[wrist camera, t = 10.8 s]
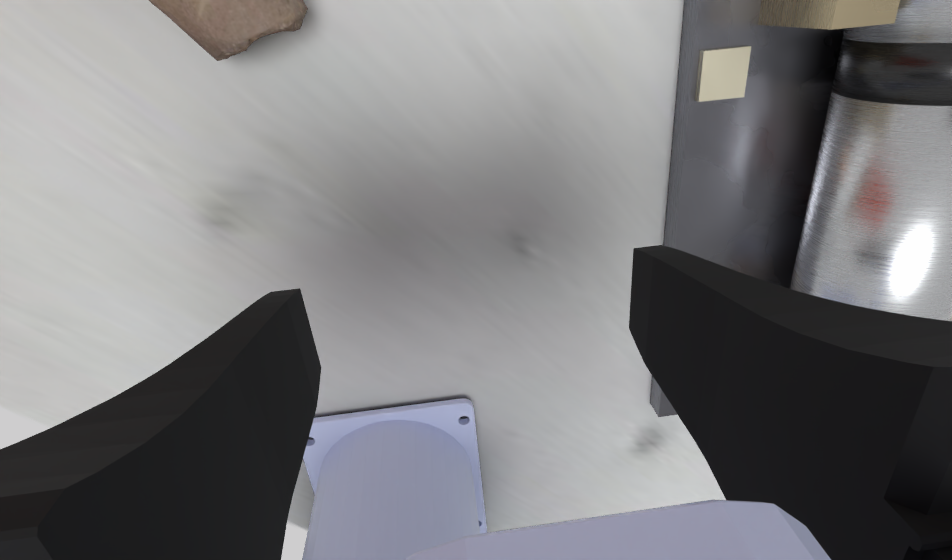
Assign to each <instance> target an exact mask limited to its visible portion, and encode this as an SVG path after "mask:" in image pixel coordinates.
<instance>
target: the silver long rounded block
mask: <svg viewBox="0 0 952 560" xmlns="http://www.w3.org/2000/svg"><path fill="white" fill-rule="evenodd" d="M790 289H792V290H795V291H799V292H802V293H806V294H809V295H813V296H817V297H821V298H825V299H829V300H834V301H838V302H842V303H846V304H850V305H855V306H860V307H865V308H870V309H875V310H881V311H887V312H892V313H898V314H904V315H909V316H916V317H923V318H930V319H937V320H944V321H952V0H900V3H899V7H898V11H897V15H896V19H895V23H893V24H883V25H873V26H863V27H853V28H845V31H844V35H843V40H842V45H841V49H840V54H839V59H838V63H837V68H836V73H835V78H834V82H833V87H832V92H831V96H830V101H829V106H828V110H827V115H826V120H825V124H824V129H823V134H822V139H821V143H820V148H819V153H818V157H817V162H816V167H815V171H814V176H813V181H812V186H811V190H810V195H809V200H808V204H807V209H806V214H805V218H804V223H803V228H802V232H801V237H800V242H799V247H798V251H797V256H796V261H795V265H794V270H793V275H792V279H791V284H790Z"/></svg>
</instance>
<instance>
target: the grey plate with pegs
mask: <svg viewBox="0 0 952 560" xmlns="http://www.w3.org/2000/svg"><path fill="white" fill-rule="evenodd" d="M899 3H900V0H685V3H684V15H683V27H682V38H681V50H680V62H679V73H678V85H677V96H676V108H675V120H674V131H673V143H672V155H671V166H670V178H669V190H668V201H667V213H666V225H665V236H664V246H667V247H671V248H675V249H678V250H681V251H684V252H687V253H690V254H692V255H695V256H698V257H700V258H703V259H706V260H708V261H711V262H714V263H716V264H719V265H722V266H724V267H727V268H730V269H732V270H735V271H738V272H741V273H743V274H746V275H749V276H752V277H755V278H758V279H760V280H763V281H767V282H770V283H773V284H776V285H779V286H782V287H785V288H789V289H790V284H791V279H792V275H793V270H794V265H795V261H796V256H797V251H798V247H799V242H800V237H801V232H802V228H803V223H804V218H805V214H806V209H807V204H808V200H809V195H810V190H811V186H812V181H813V176H814V171H815V167H816V162H817V157H818V153H819V148H820V143H821V139H822V134H823V129H824V124H825V120H826V115H827V110H828V106H829V101H830V96H831V92H832V87H833V82H834V78H835V73H836V68H837V63H838V59H839V54H840V49H841V45H842V40H843V35H844V31H845V28H853V27H863V26H873V25H883V24H893V23H895V19H896V15H897V11H898V7H899ZM650 403H651V405H652V407H653V408H654V410H655V412H656V414H657V415H658V417H662V416H669V415H676V414H677V413H676V411H675V410H674V408H673V407H672V405H671V403H670V402H669V400H668V399H667V397H666V396H665V394H664V393H663V391H662V390H661V388H660V387H659V385H658V383H657V382H656V380H655V379H654V377H653V376H652V388H651V399H650Z"/></svg>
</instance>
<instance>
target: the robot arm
mask: <svg viewBox="0 0 952 560" xmlns="http://www.w3.org/2000/svg"><path fill="white" fill-rule="evenodd" d="M629 329H630V331H631V334H632V336H633V338H634V341H635V343H636V345H637V348H638V350H639V352H640V354H641V356H642V358H643V361H644V363H645V364H646V366H647V368H648V369H649V371H650V373H651V374H652V376H653V377H654V379H655V380H656V382H657V383H658V385H659V387H660V388H661V390H662V391H663V393H664V394H665V396H666V397H667V399H668V400H669V402H670V403H671V405H672V407H673V408H674V410H675V411H676V413H677V414H678V416H679V417H680V419H681V420H682V422H683V423H684V425H685V426H686V428H687V429H688V431H689V432H690V434H691V436H692V437H693V439H694V440H695V442H696V443H697V445H698V447H699V449H700V450H701V452H702V454H703V455H704V457H705V459H706V461H707V462H708V464H709V466H710V468H711V470H712V472H713V474H714V476H715V478H716V480H717V482H718V484H719V486H720V488H721V490H722V492H723V494H724V496H725V498H726V500H708V501H701V502H694V503H687V504H680V505H674V506H667V507H660V508H653V509H646V510H639V511H633V512H626V513H619V514H612V515H605V516H598V517H592V518H585V519H578V520H571V521H564V522H557V523H551V524H544V525H537V526H530V527H523V528H516V529H510V530H503V531H496V532H489V533H487V525H486V516H485V507H484V498H483V489H482V480H481V470H480V461H479V452H478V443H477V434H476V425H475V416H474V407H473V404H472V402H471V401H470V400H468V399H466V398H461V399H453V400H446V401H438V402H430V403H423V404H415V405H408V406H400V407H393V408H385V409H378V410H370V411H363V412H355V413H348V414H340V415H332V416H325V417H317V418H314V415H315V411H316V407H317V400H318V392H319V383H320V373H321V365H320V361H319V358H318V354H317V350H316V346H315V343H314V339H313V335H312V331H311V328H310V324H309V320H308V316H307V313H306V309H305V305H304V301H303V298H302V294H301V290H300V289H292V290H284V291H275V292H270V293H268V294H267V295H265V296H263V297H262V298H260V299H259V300H257V301H256V302H255V303H253V304H252V305H250V306H249V307H248V308H246V309H245V310H244V311H242V312H241V313H240V314H238V315H237V316H236V317H235V318H233V319H232V320H231V321H229V322H228V323H227V324H225V325H224V326H223V327H221V328H220V329H219V330H217V331H216V332H215V333H213V334H212V335H211V336H209V337H208V338H207V339H205V340H204V341H202V342H201V343H199V344H198V345H196V346H195V347H194V348H192V349H191V350H189V351H188V352H186V353H185V354H183V355H182V356H181V357H179V358H178V359H176V360H175V361H173V362H172V363H171V364H169V365H168V366H166V367H164V368H163V369H161V370H160V371H158V372H156V373H155V374H153V375H152V376H150V377H148V378H147V379H145V380H143V381H142V382H140V383H138V384H136V385H135V386H133V387H131V388H129V389H128V390H126V391H124V392H122V393H121V394H119V395H117V396H115V397H113V398H111V399H109V400H108V401H106V402H103V403H101V404H99V405H97V406H95V407H93V408H91V409H89V410H87V411H85V412H83V413H81V414H79V415H77V416H75V417H73V418H71V419H69V420H67V421H65V422H63V423H61V424H59V425H57V426H54V427H52V428H50V429H48V430H46V431H44V432H41V433H39V434H36V435H34V436H32V437H29V438H27V439H25V440H22V441H20V442H18V443H16V444H13V445H10V446H8V447H6V448H3V449H0V560H281V555H282V549H283V542H284V536H285V530H286V523H287V518H288V513H289V509H290V504H291V500H292V496H293V492H294V489H295V485H296V481H297V478H298V474H299V470H300V467H301V463H302V460H304V463H305V466H306V469H307V472H308V476H309V479H310V482H311V485H312V488H313V491H314V495H315V498H314V503H313V508H312V513H311V518H310V523H309V528H308V533H307V539H306V544H305V548H304V553H303V558H302V560H952V321H944V320H937V319H930V318H923V317H916V316H909V315H904V314H898V313H892V312H887V311H881V310H875V309H870V308H865V307H860V306H855V305H850V304H846V303H842V302H838V301H834V300H829V299H825V298H821V297H817V296H813V295H809V294H806V293H802V292H799V291H795V290H792V289H789V288H785V287H782V286H779V285H776V284H773V283H770V282H767V281H763V280H760V279H758V278H755V277H752V276H749V275H746V274H743V273H741V272H738V271H735V270H732V269H730V268H727V267H724V266H722V265H719V264H716V263H714V262H711V261H708V260H706V259H703V258H700V257H698V256H695V255H692V254H690V253H687V252H684V251H681V250H678V249H675V248H671V247H667V246H663V245H659V246H650V247H642V248H634V251H633V269H632V286H631V303H630V321H629ZM462 416H467V418H466V419H460V417H462ZM309 437H312V438H314V439H312V440H311V439H308V438H309Z"/></svg>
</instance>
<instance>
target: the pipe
mask: <svg viewBox="0 0 952 560" xmlns="http://www.w3.org/2000/svg"><path fill="white" fill-rule="evenodd" d="M149 1H150V2H151V3H152V4H153V5H155V6H156V7H157V8H158V9H159V10H161V11H162V12H163V13H164V14H166V15H167V16H168V17H169V18H170V19H171V20H172V21H174V22H175V23H176V24H177V25H178V26H179V27H180V28H181V29H182V30H183V31H185V32H186V33H187V34H188V35H189V36H190V37H191V38H192V39H193V40H195V41H196V42H197V43H198V44H199V45H200V46H201V47H202V48H203V49H205V50H206V51H207V52H208V53H209V54H210V55H211V56H212V57H214V58H215V59H216V60H217V61H219V60H222V59H227V58H229V57H230V56H232V55H235V54H238V53H241V52H243V51H246V50H247V48H248V47H249V46H250V45H251V44H252V43H253V42H254V41H255V40H257V39H258V38H261V37H263V36H265V35H269V34H273V33H277V32H281V31H296V30H299V29H300V27H301V25H302V21H303V18H304V16H305V14H306V12H307V9H308V8H307V7H306V5H305V3H304V2H303V0H149Z"/></svg>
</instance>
